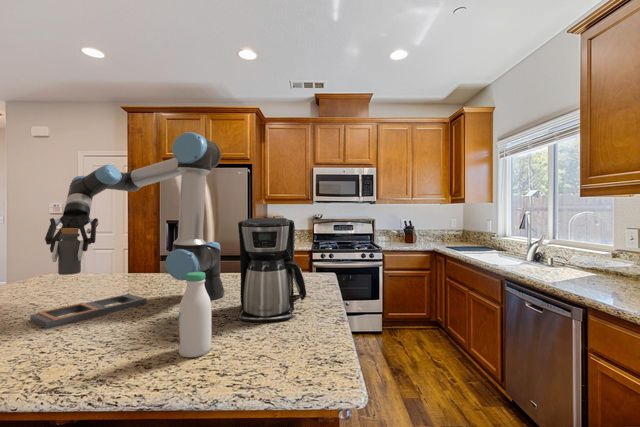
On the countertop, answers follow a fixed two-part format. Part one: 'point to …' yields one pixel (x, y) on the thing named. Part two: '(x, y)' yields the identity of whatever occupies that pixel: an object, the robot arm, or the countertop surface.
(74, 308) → the rail
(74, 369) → the countertop surface
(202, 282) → the milk bottle
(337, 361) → the countertop surface
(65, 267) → the bottle
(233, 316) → the countertop surface
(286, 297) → the coffee maker
